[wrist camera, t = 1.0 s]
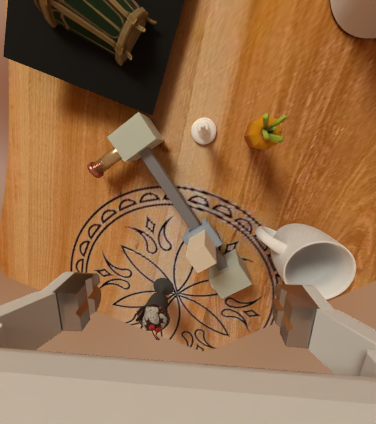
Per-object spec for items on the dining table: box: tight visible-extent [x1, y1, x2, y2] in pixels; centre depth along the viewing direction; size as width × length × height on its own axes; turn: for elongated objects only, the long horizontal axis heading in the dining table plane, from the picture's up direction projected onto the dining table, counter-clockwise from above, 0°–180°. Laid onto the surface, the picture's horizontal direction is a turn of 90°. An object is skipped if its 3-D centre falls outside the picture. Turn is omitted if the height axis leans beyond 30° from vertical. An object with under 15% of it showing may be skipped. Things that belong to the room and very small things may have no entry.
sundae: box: [136, 278, 173, 340], centre depth 45 cm, size 7×7×15 cm
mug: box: [255, 223, 356, 300], centre depth 39 cm, size 15×11×13 cm
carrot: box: [244, 114, 287, 151], centre depth 33 cm, size 5×5×15 cm
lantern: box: [4, 0, 184, 115], centre depth 32 cm, size 14×23×30 cm
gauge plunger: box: [87, 148, 122, 178], centre depth 40 cm, size 10×3×3 cm, turn 123°
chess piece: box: [191, 118, 217, 145], centre depth 36 cm, size 5×5×10 cm
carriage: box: [182, 218, 222, 273], centre depth 39 cm, size 6×5×11 cm
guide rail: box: [107, 112, 252, 299], centre depth 42 cm, size 8×38×7 cm, turn 33°
